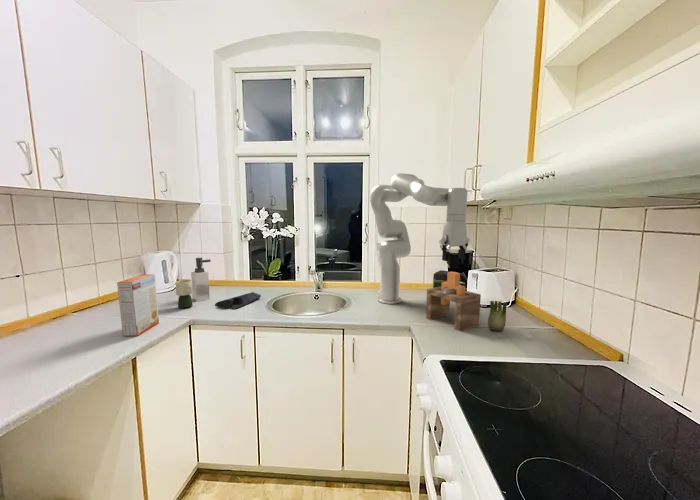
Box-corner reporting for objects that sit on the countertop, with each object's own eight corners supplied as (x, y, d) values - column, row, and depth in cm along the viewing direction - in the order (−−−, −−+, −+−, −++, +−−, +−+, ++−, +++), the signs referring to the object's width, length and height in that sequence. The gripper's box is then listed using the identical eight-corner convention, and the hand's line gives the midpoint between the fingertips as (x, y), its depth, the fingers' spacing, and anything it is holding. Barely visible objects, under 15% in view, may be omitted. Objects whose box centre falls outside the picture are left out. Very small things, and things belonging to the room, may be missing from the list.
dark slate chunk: (265, 299, 167) (265, 291, 166) (233, 311, 148) (232, 301, 147) (244, 296, 174) (244, 287, 173) (211, 306, 155) (210, 297, 154)
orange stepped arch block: (440, 303, 136) (441, 271, 135) (445, 302, 138) (446, 270, 136) (459, 310, 128) (461, 275, 126) (464, 308, 130) (466, 274, 128)
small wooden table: (425, 317, 138) (427, 285, 136) (444, 313, 145) (446, 282, 143) (459, 331, 123) (461, 294, 121) (478, 325, 129) (480, 290, 128)
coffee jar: (447, 313, 144) (449, 273, 142) (430, 310, 148) (431, 272, 145) (451, 307, 153) (452, 270, 151) (434, 305, 156) (436, 268, 154)
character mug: (199, 307, 152) (197, 280, 151) (185, 311, 146) (183, 283, 145) (185, 303, 158) (183, 278, 156) (171, 307, 152) (169, 281, 150)
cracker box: (145, 323, 131) (141, 273, 128) (159, 323, 131) (156, 273, 128) (121, 336, 117) (116, 281, 114) (137, 336, 117) (132, 281, 114)
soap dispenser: (214, 298, 167) (212, 257, 165) (196, 301, 162) (194, 259, 159) (209, 296, 172) (207, 256, 169) (192, 299, 166) (190, 257, 164)
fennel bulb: (506, 331, 123) (508, 301, 122) (500, 334, 120) (502, 303, 119) (491, 326, 128) (493, 298, 126) (485, 329, 125) (487, 300, 123)
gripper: (462, 218, 136) (460, 257, 138) (434, 218, 127) (432, 260, 129) (477, 218, 130) (474, 259, 132) (448, 219, 121) (446, 263, 123)
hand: (453, 259), depth 131 cm, fingers open, 9 cm apart
